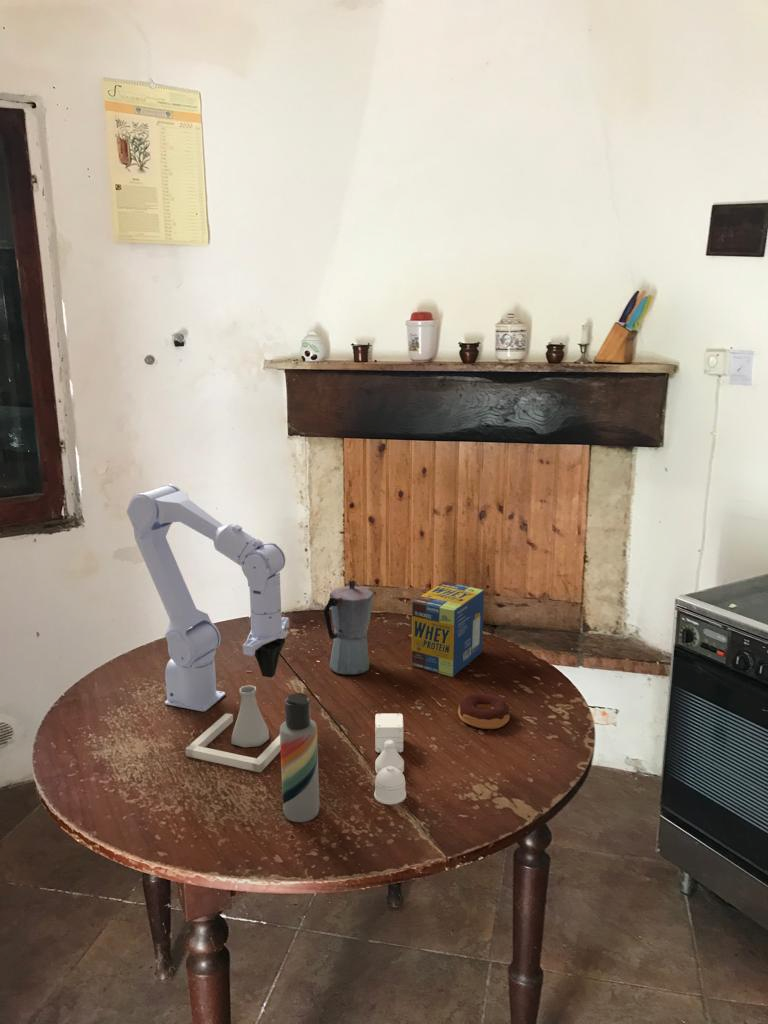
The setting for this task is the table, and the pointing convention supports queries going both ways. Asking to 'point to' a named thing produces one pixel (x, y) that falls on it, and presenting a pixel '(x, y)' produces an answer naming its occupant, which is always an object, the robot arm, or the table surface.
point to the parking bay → (235, 760)
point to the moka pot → (349, 628)
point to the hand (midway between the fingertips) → (268, 675)
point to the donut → (484, 711)
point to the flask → (249, 721)
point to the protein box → (447, 628)
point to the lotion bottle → (299, 760)
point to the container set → (389, 759)
